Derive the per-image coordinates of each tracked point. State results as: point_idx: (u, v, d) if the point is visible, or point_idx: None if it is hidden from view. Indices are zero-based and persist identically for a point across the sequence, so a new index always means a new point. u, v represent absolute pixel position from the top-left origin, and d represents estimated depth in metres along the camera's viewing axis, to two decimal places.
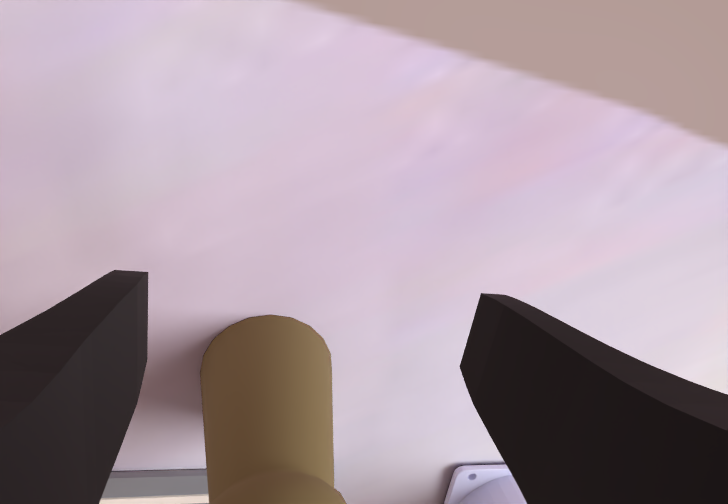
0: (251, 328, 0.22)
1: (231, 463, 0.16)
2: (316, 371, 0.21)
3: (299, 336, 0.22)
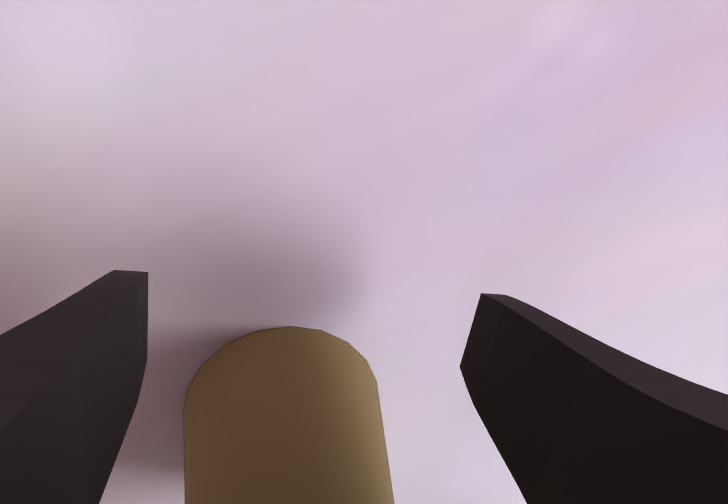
0: (261, 348, 0.14)
1: None
2: (365, 418, 0.13)
3: (335, 360, 0.14)
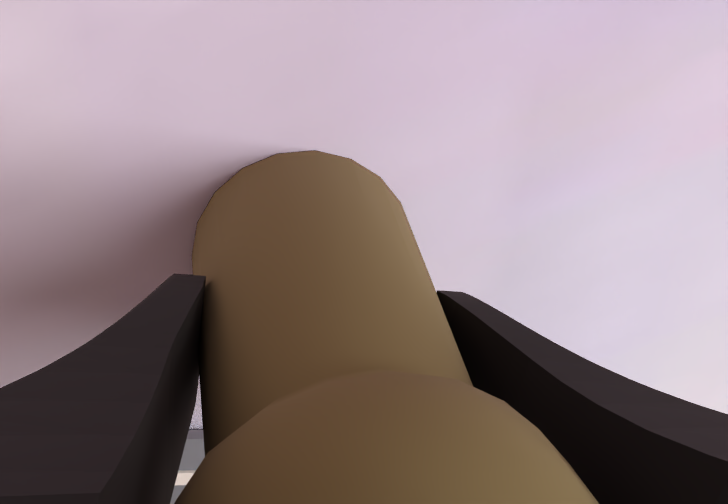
0: (283, 165, 0.12)
1: (259, 366, 0.07)
2: (407, 233, 0.11)
3: (368, 182, 0.12)
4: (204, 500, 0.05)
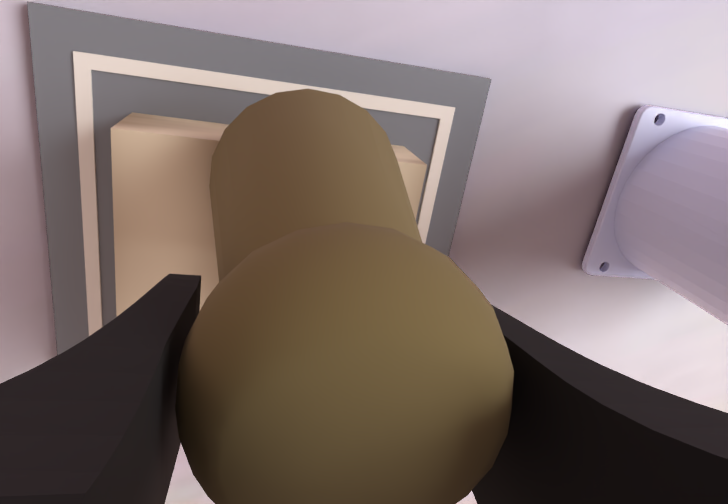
0: (279, 101, 0.14)
1: (256, 237, 0.09)
2: (385, 152, 0.13)
3: (353, 112, 0.14)
4: (215, 298, 0.07)
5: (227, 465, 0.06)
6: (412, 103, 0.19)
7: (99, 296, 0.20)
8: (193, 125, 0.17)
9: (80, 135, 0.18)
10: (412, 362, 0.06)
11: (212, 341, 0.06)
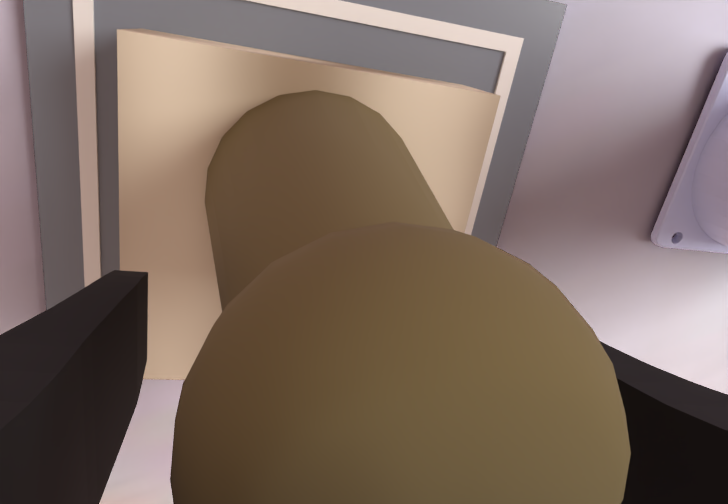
0: (285, 102, 0.12)
1: (270, 248, 0.07)
2: (407, 156, 0.12)
3: (368, 114, 0.13)
4: (225, 325, 0.05)
5: None
6: (475, 31, 0.16)
7: (98, 258, 0.17)
8: (217, 43, 0.14)
9: (78, 55, 0.14)
10: (518, 408, 0.04)
11: (225, 386, 0.04)
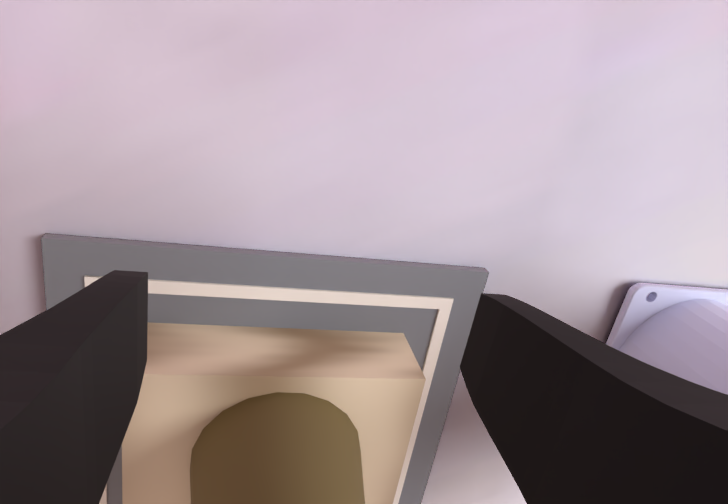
0: (250, 415, 0.16)
1: None
2: (342, 473, 0.15)
3: (315, 421, 0.16)
4: None
5: None
6: (412, 298, 0.20)
7: None
8: (200, 340, 0.18)
9: None
10: None
11: None
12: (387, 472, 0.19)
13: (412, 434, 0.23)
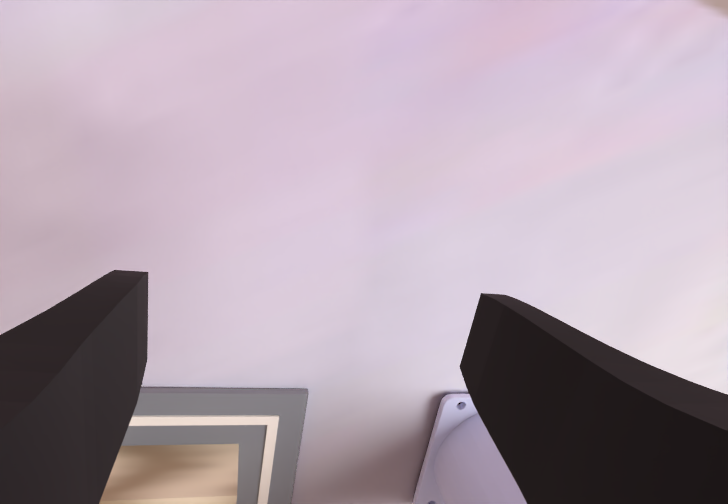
0: None
1: None
2: None
3: None
4: None
5: None
6: (241, 418, 0.24)
7: None
8: None
9: None
10: None
11: None
12: None
13: None
